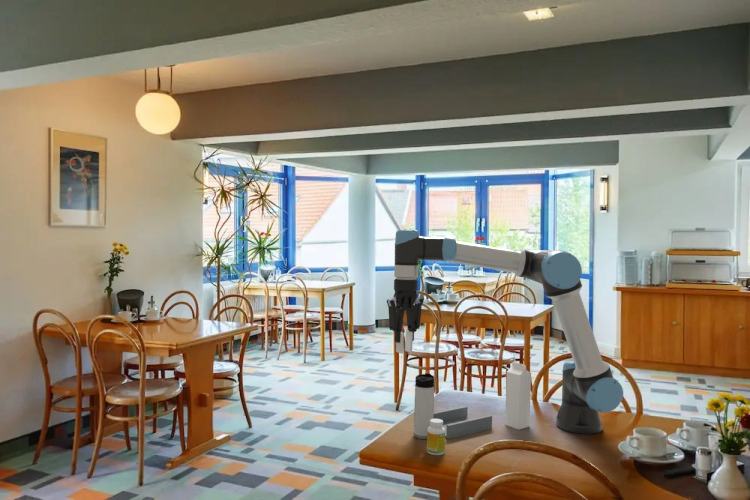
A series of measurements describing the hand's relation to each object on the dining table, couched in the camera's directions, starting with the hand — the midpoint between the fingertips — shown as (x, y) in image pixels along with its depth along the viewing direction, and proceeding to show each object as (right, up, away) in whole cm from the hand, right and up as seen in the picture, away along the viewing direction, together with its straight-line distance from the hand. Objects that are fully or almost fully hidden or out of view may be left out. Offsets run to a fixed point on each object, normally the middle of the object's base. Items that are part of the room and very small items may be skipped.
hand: (404, 351), depth 183 cm
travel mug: (+7, -29, +6) cm, 30 cm away
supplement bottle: (+9, -29, -8) cm, 32 cm away
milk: (+41, -29, +18) cm, 53 cm away
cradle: (+19, -29, +14) cm, 37 cm away
